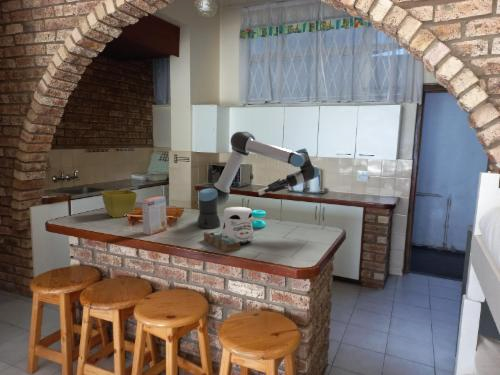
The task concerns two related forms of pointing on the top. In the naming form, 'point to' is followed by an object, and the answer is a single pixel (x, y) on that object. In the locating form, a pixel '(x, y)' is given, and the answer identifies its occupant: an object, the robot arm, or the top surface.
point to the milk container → (238, 224)
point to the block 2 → (228, 240)
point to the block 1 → (218, 235)
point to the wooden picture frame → (220, 243)
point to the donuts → (258, 215)
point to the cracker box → (154, 215)
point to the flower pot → (119, 202)
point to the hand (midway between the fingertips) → (258, 192)
